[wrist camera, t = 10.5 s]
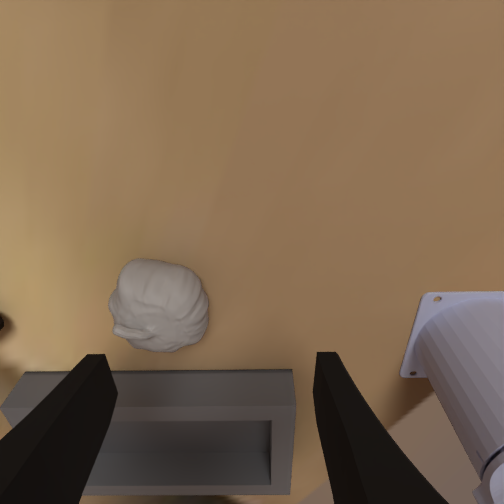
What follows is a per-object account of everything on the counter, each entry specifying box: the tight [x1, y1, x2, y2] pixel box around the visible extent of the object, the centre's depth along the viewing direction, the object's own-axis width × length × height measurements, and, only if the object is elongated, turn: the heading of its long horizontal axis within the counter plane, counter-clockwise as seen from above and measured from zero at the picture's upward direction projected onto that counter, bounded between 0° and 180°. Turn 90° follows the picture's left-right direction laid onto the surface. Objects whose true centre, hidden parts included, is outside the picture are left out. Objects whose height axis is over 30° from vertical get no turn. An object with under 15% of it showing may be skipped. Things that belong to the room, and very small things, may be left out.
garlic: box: [108, 259, 209, 352], centre depth 19 cm, size 6×5×5 cm
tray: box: [0, 369, 296, 495], centre depth 28 cm, size 20×12×3 cm, turn 91°
